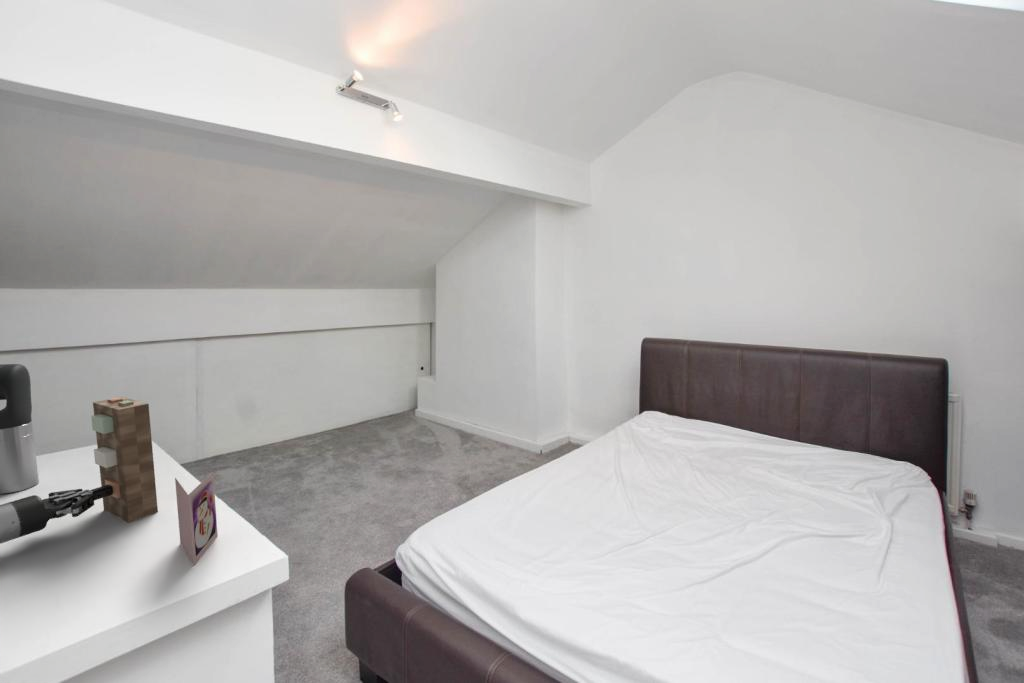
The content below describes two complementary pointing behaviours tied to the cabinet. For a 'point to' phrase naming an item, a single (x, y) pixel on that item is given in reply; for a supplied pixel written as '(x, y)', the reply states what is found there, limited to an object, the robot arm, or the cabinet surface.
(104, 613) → the cabinet surface
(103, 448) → the key middle
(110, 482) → the block
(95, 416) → the key top
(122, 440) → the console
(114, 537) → the cabinet surface
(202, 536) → the greeting card
